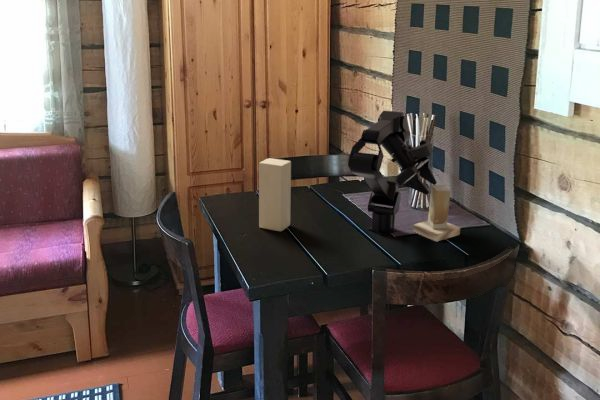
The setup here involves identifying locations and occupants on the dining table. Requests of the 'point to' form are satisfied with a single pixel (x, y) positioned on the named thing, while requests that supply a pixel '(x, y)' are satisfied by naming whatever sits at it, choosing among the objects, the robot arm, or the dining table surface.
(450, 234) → the birch block
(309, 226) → the dining table surface
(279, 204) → the beige tall rectangular block
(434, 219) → the skincare box
